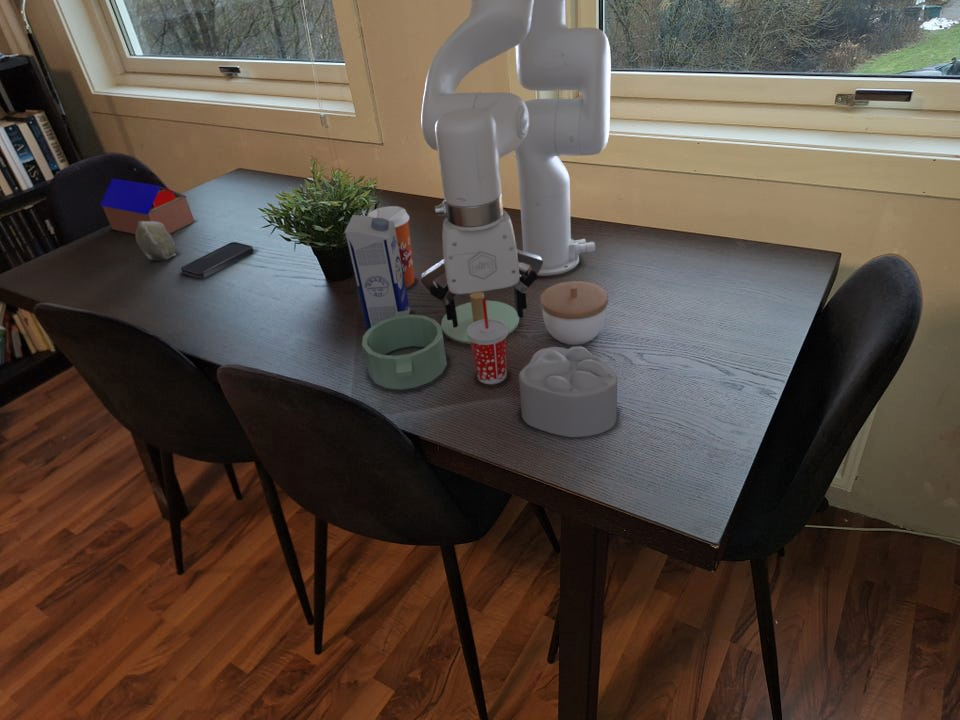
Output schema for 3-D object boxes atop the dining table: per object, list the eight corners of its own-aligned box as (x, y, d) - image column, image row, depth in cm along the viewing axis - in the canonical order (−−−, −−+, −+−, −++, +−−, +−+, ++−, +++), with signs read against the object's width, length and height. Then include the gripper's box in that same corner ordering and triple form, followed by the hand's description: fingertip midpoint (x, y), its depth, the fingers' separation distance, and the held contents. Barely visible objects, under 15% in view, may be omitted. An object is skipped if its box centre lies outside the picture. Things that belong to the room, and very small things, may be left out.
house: (157, 239, 164) (139, 194, 157) (110, 229, 173) (91, 186, 167) (196, 221, 172) (180, 177, 165) (149, 212, 181) (132, 170, 175)
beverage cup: (503, 362, 105) (496, 285, 98) (517, 383, 101) (511, 304, 93) (467, 372, 104) (457, 295, 96) (479, 394, 99) (470, 314, 91)
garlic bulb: (167, 272, 153) (147, 242, 144) (136, 265, 154) (115, 234, 146) (189, 245, 158) (172, 213, 149) (160, 237, 159) (141, 206, 151)
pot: (443, 333, 114) (438, 302, 111) (451, 395, 100) (445, 361, 96) (371, 343, 114) (364, 312, 110) (368, 407, 99) (360, 374, 96)
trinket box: (591, 361, 103) (591, 310, 98) (531, 346, 109) (528, 296, 103) (617, 328, 111) (618, 278, 105) (560, 315, 116) (558, 267, 110)
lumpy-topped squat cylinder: (544, 381, 100) (542, 333, 95) (627, 401, 94) (629, 351, 90) (514, 422, 93) (510, 373, 88) (601, 447, 87) (602, 395, 82)
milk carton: (375, 314, 122) (352, 213, 111) (410, 312, 122) (392, 209, 110) (368, 335, 116) (344, 230, 105) (405, 332, 116) (385, 227, 105)
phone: (254, 246, 151) (200, 274, 141) (255, 251, 152) (201, 279, 142) (232, 241, 155) (178, 268, 145) (234, 245, 156) (180, 272, 146)
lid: (512, 301, 121) (510, 271, 118) (525, 340, 110) (523, 309, 107) (439, 311, 121) (435, 282, 118) (444, 352, 110) (439, 320, 106)
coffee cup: (413, 294, 127) (400, 222, 119) (373, 293, 129) (358, 222, 121) (425, 274, 134) (413, 204, 125) (387, 273, 136) (373, 204, 127)
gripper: (410, 230, 84) (430, 340, 94) (544, 210, 84) (550, 322, 94) (408, 207, 90) (427, 313, 100) (533, 189, 90) (540, 296, 100)
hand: (487, 317), depth 97 cm, fingers open, 9 cm apart
